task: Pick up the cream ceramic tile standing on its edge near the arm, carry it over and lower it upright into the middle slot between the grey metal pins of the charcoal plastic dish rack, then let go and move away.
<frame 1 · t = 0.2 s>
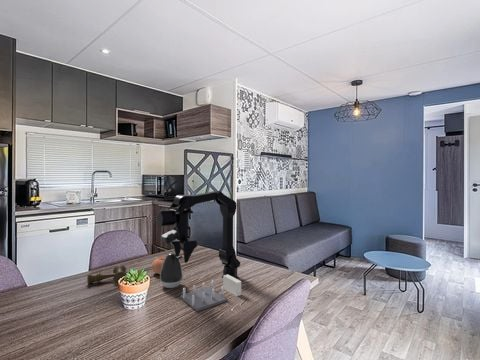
hand: (181, 259, 116), 14 cm above the table, tool pointing down, fingers open, 9 cm apart
pump dispenser: (171, 286, 123), on the table
rack: (203, 299, 110), on the table
tomato: (162, 273, 138), on the table
tile: (231, 291, 118), on the table
kendama: (111, 281, 127), on the table
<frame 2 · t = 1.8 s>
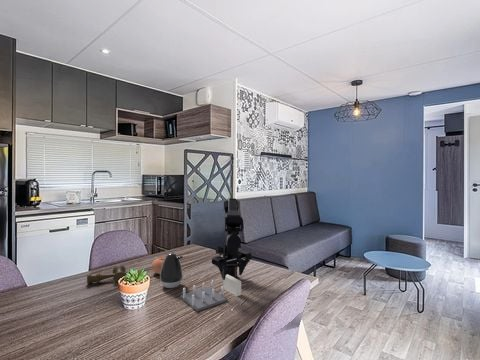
hand: (232, 277, 118), 6 cm above the table, tool pointing down, fingers open, 9 cm apart
nothing on the table moved.
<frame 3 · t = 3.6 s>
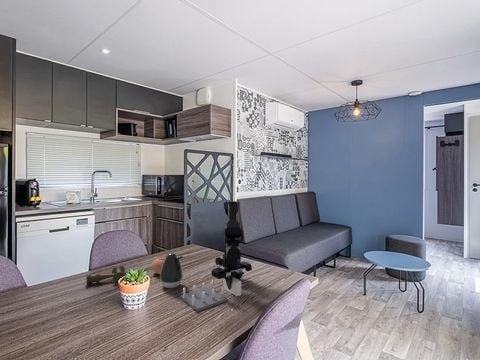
hand: (231, 288, 118), 1 cm above the table, tool pointing down, fingers closed on tile, 2 cm apart
tile: (231, 291, 118), on the table, touching gripper
everything else where it was.
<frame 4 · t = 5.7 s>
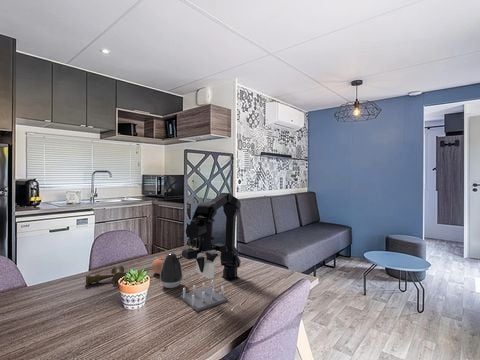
hand: (204, 271, 110), 12 cm above the table, tool pointing down, fingers closed on tile, 2 cm apart
tile: (204, 274, 110), point 10 cm above the table, touching gripper
everything else where it was.
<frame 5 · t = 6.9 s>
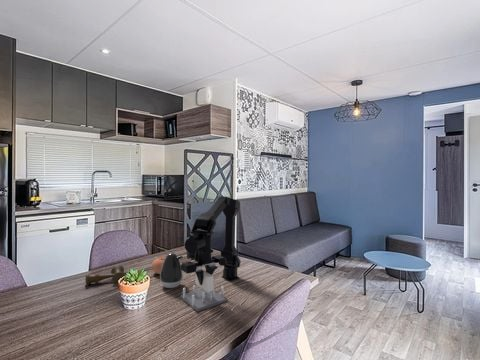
hand: (203, 284, 110), 6 cm above the table, tool pointing down, fingers closed on tile, 2 cm apart
tile: (203, 287, 110), point 5 cm above the table, touching gripper
everything else where it was.
when the fingers open (3 cm above the table, at t = 7.8 s): tile drops 1 cm, resting on rack.
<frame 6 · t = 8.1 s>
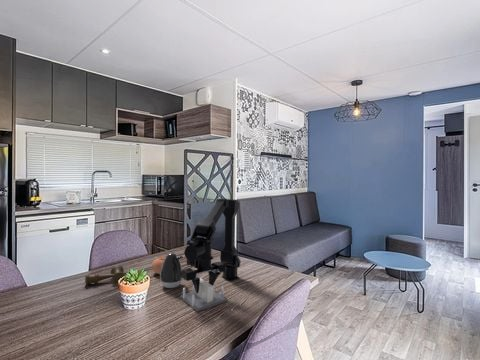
hand: (203, 290, 110), 3 cm above the table, tool pointing down, fingers open, 6 cm apart
tile: (203, 296, 110), point 1 cm above the table, touching rack
everything else where it was.
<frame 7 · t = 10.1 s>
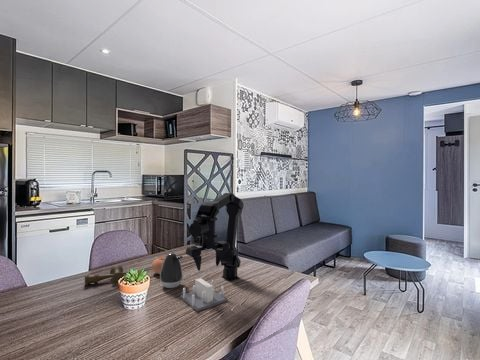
hand: (208, 268, 114), 12 cm above the table, tool pointing down, fingers open, 9 cm apart
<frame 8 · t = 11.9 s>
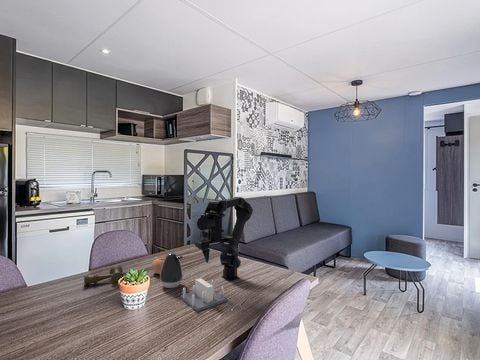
hand: (215, 260, 123), 12 cm above the table, tool pointing down, fingers open, 9 cm apart
at the end: tile 0.1 cm off-centre on the rack, point 1.0 cm above the rack's base; tile tilted 0°; the gripper is holding nothing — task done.
